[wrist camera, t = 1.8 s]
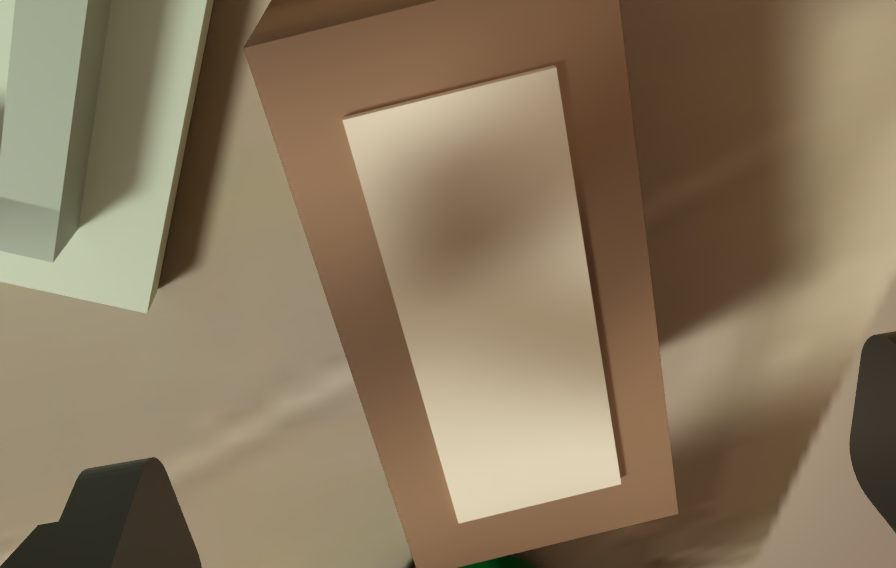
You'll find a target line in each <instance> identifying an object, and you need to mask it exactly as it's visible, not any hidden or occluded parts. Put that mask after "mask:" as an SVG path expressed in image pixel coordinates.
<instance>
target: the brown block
mask: <svg viewBox="0 0 896 568" xmlns="http://www.w3.org/2000/svg"><path fill="white" fill-rule="evenodd" d="M244 51H245V54H246V57H247V60H248V63H249V66H250V69H251V72H252V75H253V78H254V81H255V84H256V87H257V90H258V93H259V96H260V99H261V102H262V105H263V108H264V111H265V114H266V117H267V120H268V123H269V126H270V129H271V132H272V135H273V138H274V141H275V144H276V147H277V151H278V154H279V157H280V160H281V163H282V166H283V169H284V172H285V175H286V178H287V181H288V184H289V187H290V190H291V193H292V196H293V199H294V202H295V205H296V208H297V211H298V214H299V217H300V220H301V223H302V226H303V229H304V232H305V235H306V238H307V241H308V244H309V247H310V250H311V253H312V256H313V259H314V262H315V265H316V268H317V271H318V274H319V277H320V280H321V283H322V286H323V289H324V292H325V295H326V298H327V301H328V304H329V307H330V310H331V313H332V316H333V319H334V322H335V325H336V328H337V331H338V334H339V337H340V340H341V343H342V346H343V349H344V352H345V355H346V358H347V361H348V364H349V367H350V370H351V373H352V376H353V379H354V382H355V385H356V388H357V391H358V394H359V397H360V400H361V403H362V406H363V409H364V412H365V415H366V418H367V421H368V424H369V427H370V430H371V433H372V436H373V439H374V442H375V445H376V448H377V451H378V454H379V457H380V460H381V463H382V466H383V469H384V473H385V476H386V479H387V482H388V485H389V488H390V491H391V494H392V497H393V500H394V503H395V506H396V509H397V512H398V515H399V518H400V521H401V524H402V527H403V530H404V533H405V536H406V539H407V542H408V545H409V548H410V551H411V554H412V557H413V560H414V563H415V566H416V568H458V567H462V566H466V565H470V564H474V563H478V562H482V561H487V560H491V559H495V558H499V557H503V556H507V555H511V554H515V553H520V552H524V551H528V550H532V549H536V548H540V547H544V546H548V545H553V544H557V543H561V542H565V541H569V540H573V539H577V538H581V537H586V536H590V535H594V534H598V533H602V532H606V531H610V530H614V529H619V528H623V527H627V526H631V525H635V524H639V523H643V522H647V521H652V520H656V519H660V518H664V517H668V516H672V515H676V514H678V507H677V498H676V489H675V481H674V472H673V463H672V454H671V446H670V437H669V428H668V420H667V411H666V402H665V394H664V385H663V376H662V368H661V359H660V350H659V342H658V333H657V324H656V315H655V307H654V298H653V289H652V281H651V272H650V263H649V255H648V246H647V237H646V229H645V220H644V211H643V203H642V194H641V185H640V176H639V168H638V159H637V150H636V142H635V133H634V124H633V116H632V107H631V98H630V90H629V81H628V72H627V63H626V55H625V46H624V37H623V29H622V20H621V11H620V3H619V0H271V2H270V4H269V5H268V7H267V9H266V11H265V12H264V14H263V16H262V17H261V19H260V21H259V23H258V24H257V26H256V28H255V29H254V31H253V33H252V35H251V36H250V38H249V40H248V41H247V43H246V45H245V47H244Z"/></svg>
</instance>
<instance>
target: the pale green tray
mask: <svg viewBox="0 0 896 568" xmlns="http://www.w3.org/2000/svg"><path fill="white" fill-rule="evenodd" d="M213 2H214V0H0V282H4V283H9V284H14V285H18V286H23V287H28V288H32V289H37V290H41V291H46V292H51V293H55V294H60V295H64V296H69V297H74V298H78V299H83V300H87V301H92V302H97V303H101V304H106V305H110V306H115V307H120V308H124V309H129V310H133V311H138V312H143V313H147V312H148V310H149V308H150V306H151V304H152V301H153V299H154V297H155V295H156V293H157V290H158V285H159V280H160V274H161V269H162V264H163V259H164V254H165V249H166V244H167V239H168V233H169V228H170V223H171V218H172V213H173V208H174V203H175V197H176V192H177V187H178V182H179V177H180V172H181V167H182V162H183V156H184V151H185V146H186V141H187V136H188V131H189V126H190V120H191V115H192V110H193V105H194V100H195V95H196V90H197V85H198V79H199V74H200V69H201V64H202V59H203V54H204V49H205V43H206V38H207V33H208V28H209V23H210V18H211V13H212V8H213Z"/></svg>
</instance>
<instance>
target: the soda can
mask: <svg viewBox="0 0 896 568" xmlns="http://www.w3.org/2000/svg"><path fill="white" fill-rule="evenodd" d="M413 568H416V566H414V567H413ZM458 568H538V567H536V566H535V565H533V564H532V563H530V562H528V561H526V560H524V559H522V558H520V557H518V556H515V555H513V554H511V555H507V556H503V557H499V558H495V559H491V560H487V561H482V562H478V563H474V564H470V565H466V566H462V567H458Z"/></svg>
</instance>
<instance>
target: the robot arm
mask: <svg viewBox="0 0 896 568" xmlns="http://www.w3.org/2000/svg"><path fill="white" fill-rule="evenodd" d="M850 455H851V461H852V465H853V469H854V472H855V474H856V477H857V480H858V482H859V484H860V486H861V488H862V489H863V491H864V493H865V494H866V495H867V497H868V498H869V500H870V501H871V502H872V504H873V505H874V506H875V507H876V508H877V510H878V511H879V512H880V513H881V515H882V516H883V517H884V519H885V520H886V521H887V522H888V524H889V525H890V526H891V527H892V529H893V530H894V531H895V532H896V331H895V332H890V333H883V334H878V335H873V336H871V337H870V338H868V339H867V341H866V342H865V344H864V346H863V349H862V353H861V360H860V367H859V375H858V383H857V390H856V397H855V406H854V412H853V420H852V427H851V435H850ZM0 568H202V567H201V562H200V558H199V555H198V552H197V549H196V547H195V544H194V541H193V539H192V536H191V534H190V531H189V529H188V526H187V523H186V521H185V518H184V516H183V513H182V511H181V508H180V505H179V503H178V500H177V498H176V495H175V493H174V490H173V487H172V485H171V482H170V480H169V477H168V475H167V472H166V470H165V468H164V466H163V464H162V463H161V462H160V461H159V460H158V459H157V458H154V457H152V458H147V459H141V460H135V461H129V462H123V463H118V464H112V465H106V466H100V467H94V468H89V469H85V470H84V471H82V472H81V474H80V475H79V476H78V478H77V480H76V482H75V485H74V487H73V489H72V492H71V494H70V496H69V499H68V501H67V503H66V506H65V508H64V510H63V513H62V515H61V517H60V520H59V522H53V523H48V524H42V525H38V526H37V527H36V528H35V529H34V530H33V531H32V532H31V534H30V535H29V536H28V537H27V538H26V539H25V540H24V541H23V542H22V543H21V544H20V546H19V547H18V548H17V549H16V550H15V551H14V552H13V553H12V554H11V555H10V556H9V557H8V559H7V560H6V561H5V562H4V563H3V564H2V565H1V566H0Z"/></svg>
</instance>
